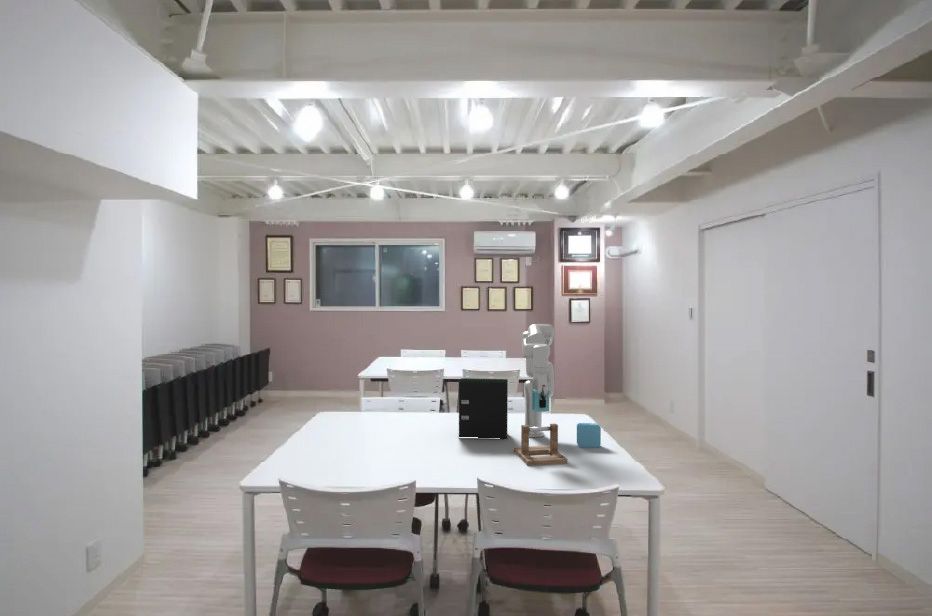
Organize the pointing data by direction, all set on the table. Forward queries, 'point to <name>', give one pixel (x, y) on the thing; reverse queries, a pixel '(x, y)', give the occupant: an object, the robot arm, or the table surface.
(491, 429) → the binder
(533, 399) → the teal rectangular block
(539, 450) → the hook stand
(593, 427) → the data package
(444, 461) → the table surface
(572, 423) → the table surface
